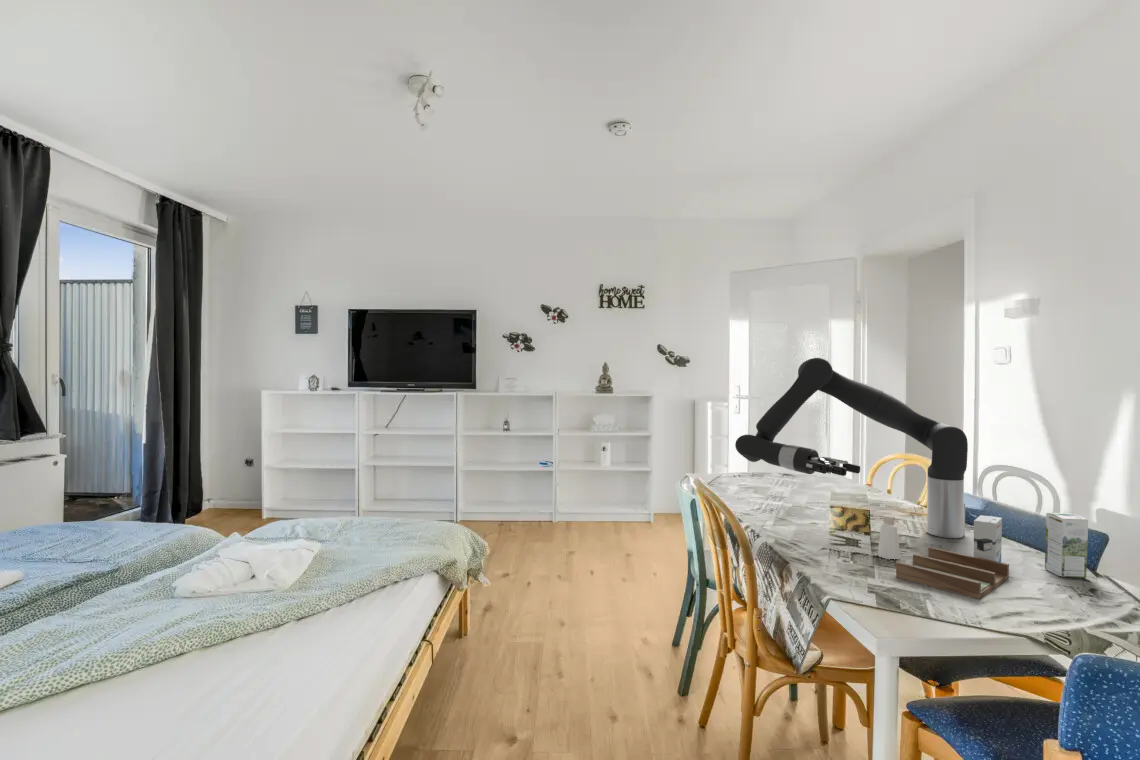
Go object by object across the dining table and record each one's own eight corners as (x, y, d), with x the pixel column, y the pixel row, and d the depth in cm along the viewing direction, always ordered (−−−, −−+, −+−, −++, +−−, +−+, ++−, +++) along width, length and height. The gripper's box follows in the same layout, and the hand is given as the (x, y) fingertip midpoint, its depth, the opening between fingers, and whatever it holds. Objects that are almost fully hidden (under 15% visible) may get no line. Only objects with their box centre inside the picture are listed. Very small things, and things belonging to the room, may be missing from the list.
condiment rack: (930, 560, 151) (930, 546, 151) (1008, 578, 137) (1008, 564, 137) (896, 576, 139) (896, 562, 139) (978, 599, 125) (978, 583, 125)
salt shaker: (892, 553, 156) (893, 513, 156) (904, 559, 151) (905, 518, 151) (873, 553, 156) (873, 513, 156) (884, 560, 151) (885, 518, 151)
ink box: (979, 558, 152) (979, 513, 152) (1002, 562, 149) (1002, 517, 149) (972, 565, 146) (972, 519, 146) (995, 570, 143) (996, 523, 143)
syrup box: (1068, 570, 143) (1069, 512, 143) (1087, 578, 137) (1088, 518, 137) (1044, 569, 144) (1044, 511, 143) (1061, 578, 138) (1062, 517, 137)
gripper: (787, 447, 168) (843, 459, 156) (811, 445, 177) (865, 456, 165) (784, 473, 169) (839, 486, 156) (808, 469, 178) (862, 481, 166)
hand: (852, 471), depth 161 cm, fingers open, 8 cm apart
